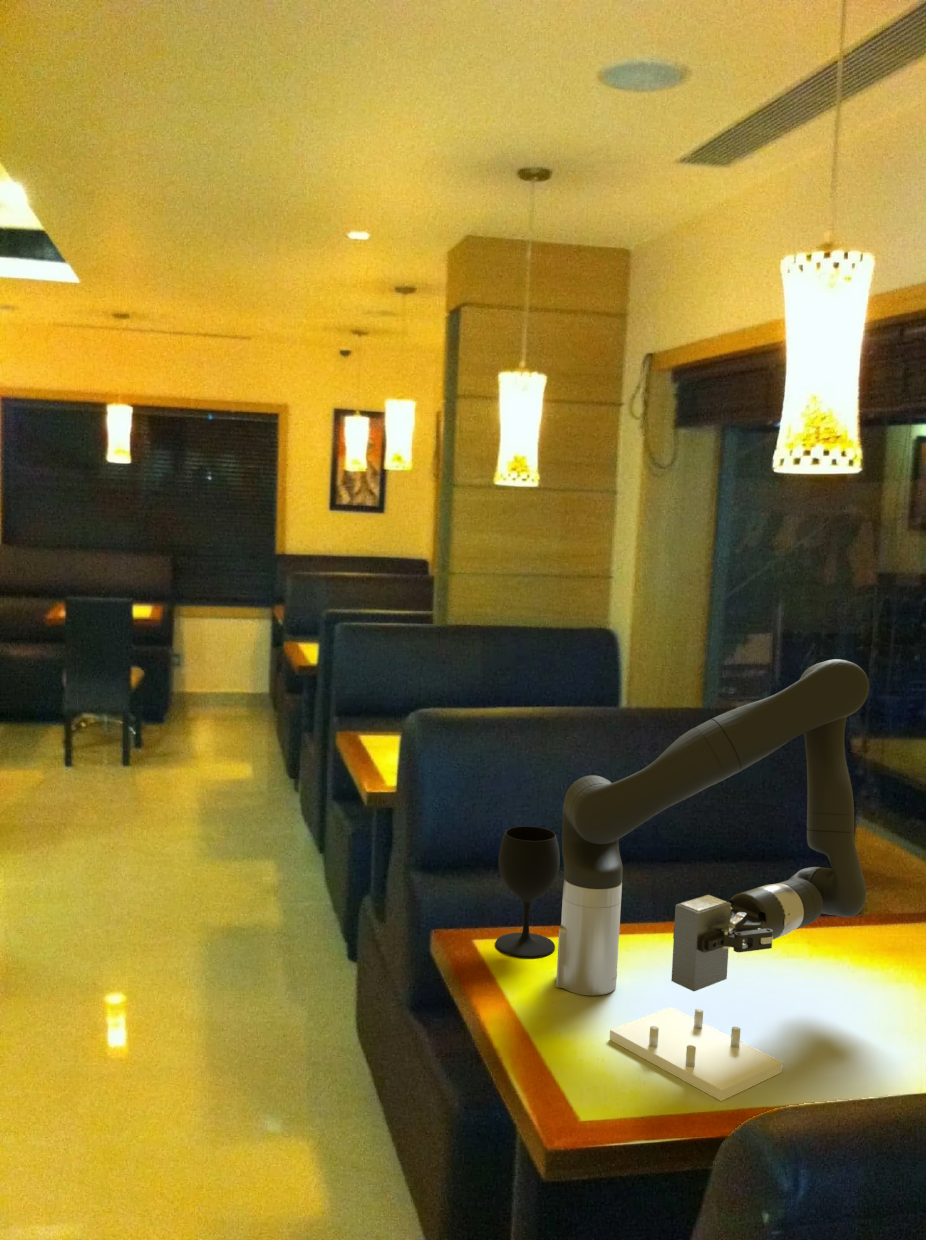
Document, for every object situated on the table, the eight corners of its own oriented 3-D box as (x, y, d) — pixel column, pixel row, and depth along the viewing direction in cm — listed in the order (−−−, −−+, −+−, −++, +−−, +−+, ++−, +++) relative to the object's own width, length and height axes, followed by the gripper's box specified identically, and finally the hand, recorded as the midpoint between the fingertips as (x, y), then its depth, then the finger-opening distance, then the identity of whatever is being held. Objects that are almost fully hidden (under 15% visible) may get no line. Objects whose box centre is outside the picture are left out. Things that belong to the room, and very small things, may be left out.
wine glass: (511, 962, 187) (516, 845, 184) (485, 938, 196) (489, 827, 194) (566, 954, 191) (572, 839, 189) (538, 931, 200) (543, 822, 198)
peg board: (609, 1039, 161) (610, 1013, 160) (669, 1016, 169) (671, 991, 168) (721, 1101, 145) (723, 1072, 145) (781, 1072, 153) (783, 1044, 153)
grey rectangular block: (671, 981, 155) (675, 903, 154) (704, 969, 160) (708, 893, 158) (693, 991, 152) (698, 912, 151) (726, 979, 157) (731, 902, 155)
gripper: (727, 874, 169) (650, 897, 159) (808, 903, 158) (732, 930, 148) (724, 922, 170) (647, 948, 159) (805, 954, 159) (728, 984, 148)
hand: (688, 939), depth 154 cm, fingers closed on grey rectangular block, 4 cm apart
